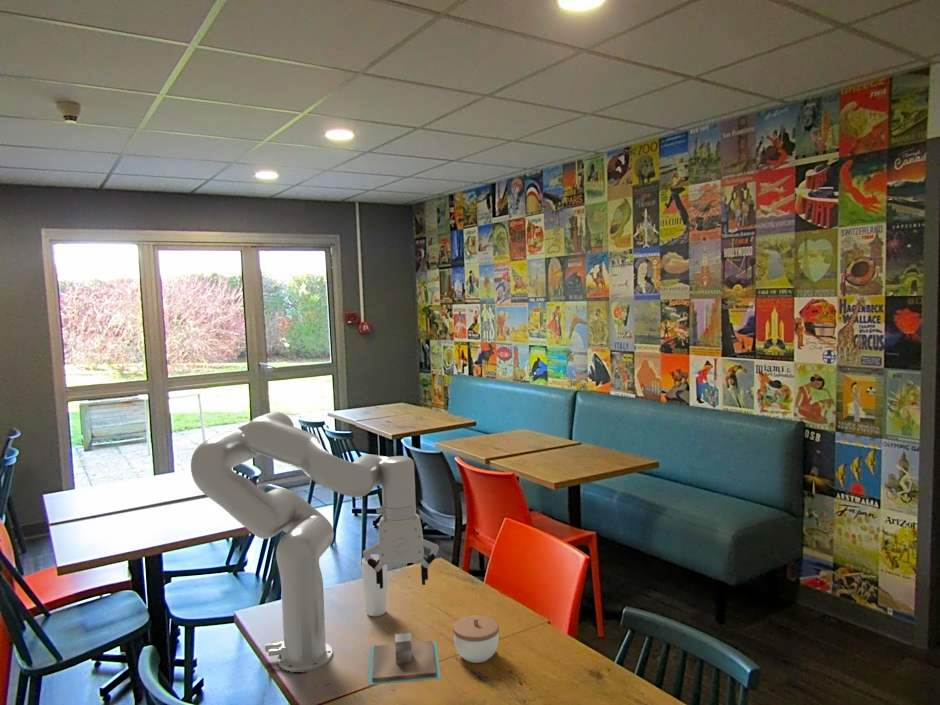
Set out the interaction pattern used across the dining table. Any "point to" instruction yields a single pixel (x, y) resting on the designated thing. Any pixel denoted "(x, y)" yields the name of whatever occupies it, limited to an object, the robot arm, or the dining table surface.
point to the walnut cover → (403, 659)
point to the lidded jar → (476, 637)
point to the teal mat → (403, 679)
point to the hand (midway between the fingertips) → (402, 584)
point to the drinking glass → (374, 588)
